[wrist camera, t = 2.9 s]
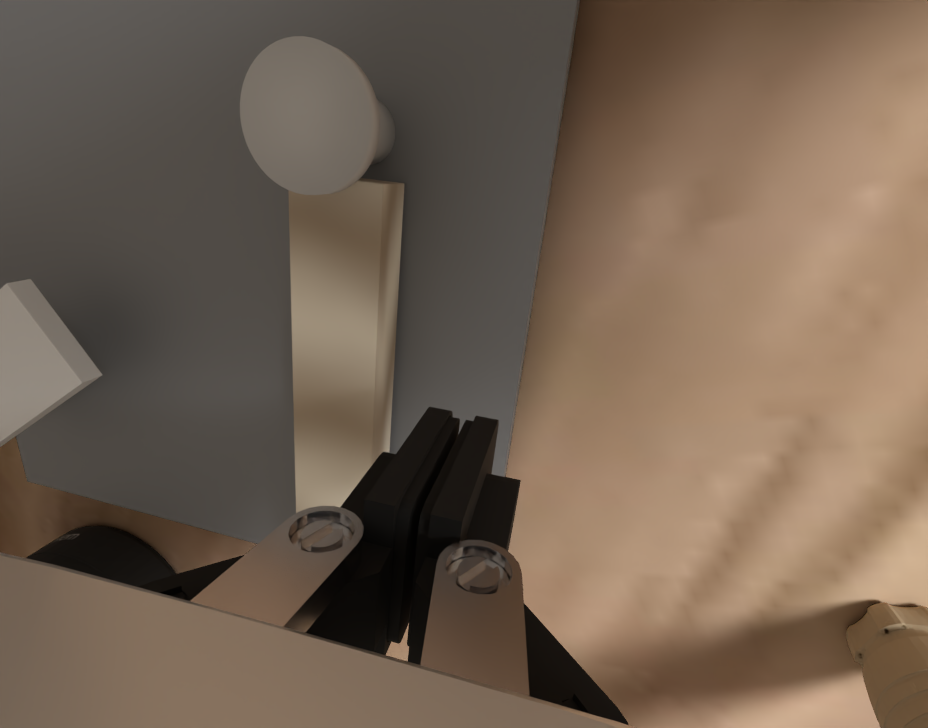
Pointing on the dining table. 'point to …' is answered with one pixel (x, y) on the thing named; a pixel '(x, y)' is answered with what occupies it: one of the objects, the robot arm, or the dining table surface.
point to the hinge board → (255, 226)
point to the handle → (894, 662)
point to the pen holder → (106, 555)
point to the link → (343, 333)
